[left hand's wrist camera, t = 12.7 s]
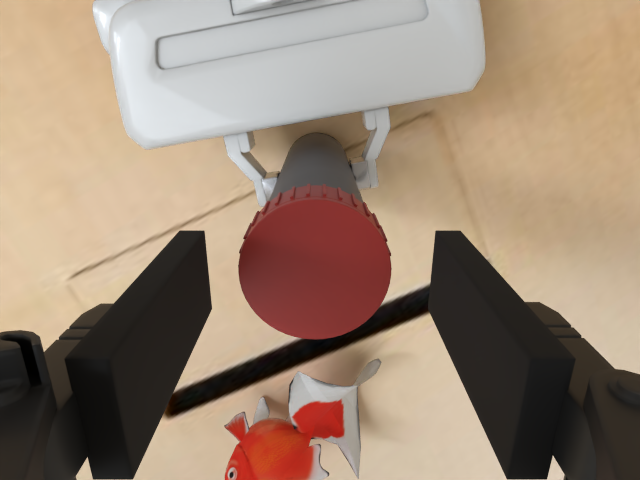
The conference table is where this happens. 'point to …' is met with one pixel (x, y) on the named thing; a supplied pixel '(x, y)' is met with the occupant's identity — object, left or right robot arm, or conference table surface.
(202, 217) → the conference table surface
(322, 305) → the lid
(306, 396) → the fish
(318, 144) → the dark grey cylinder
